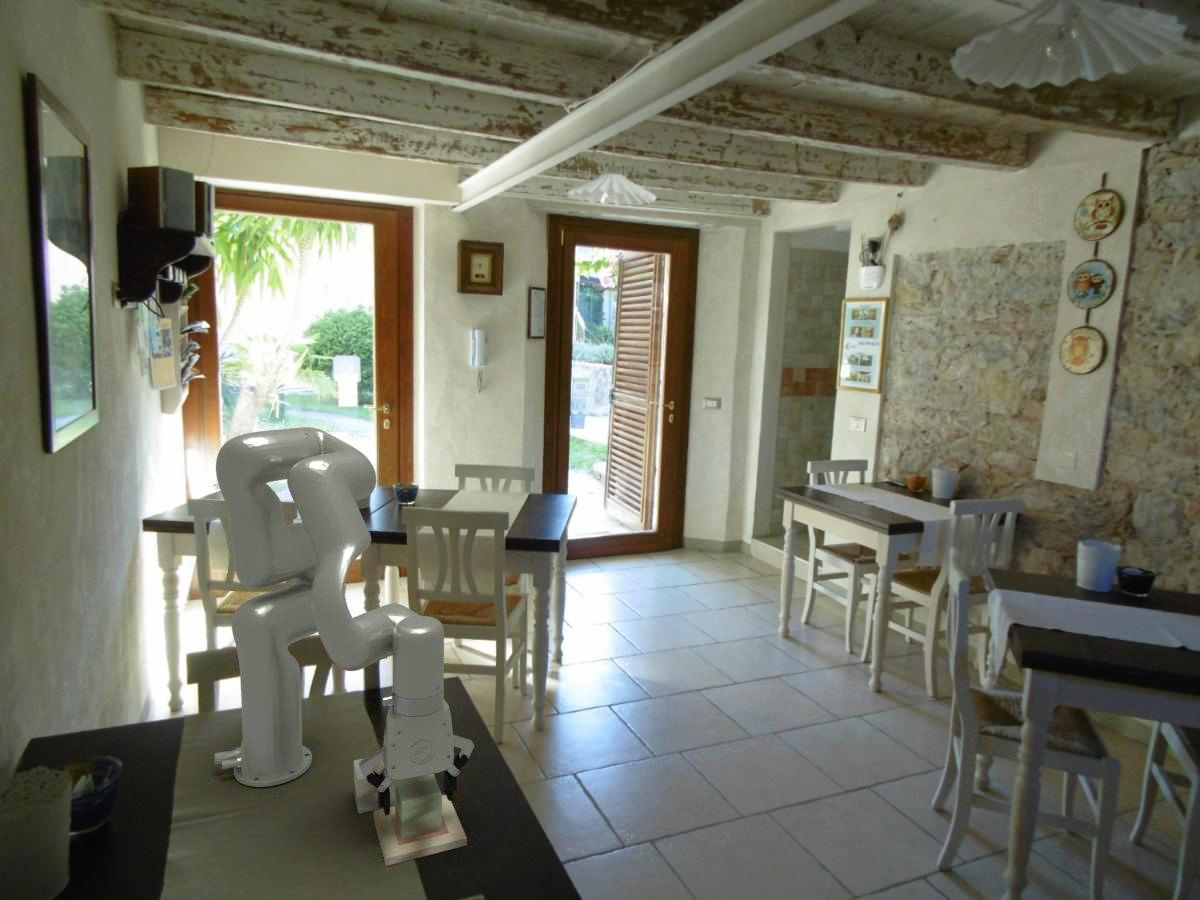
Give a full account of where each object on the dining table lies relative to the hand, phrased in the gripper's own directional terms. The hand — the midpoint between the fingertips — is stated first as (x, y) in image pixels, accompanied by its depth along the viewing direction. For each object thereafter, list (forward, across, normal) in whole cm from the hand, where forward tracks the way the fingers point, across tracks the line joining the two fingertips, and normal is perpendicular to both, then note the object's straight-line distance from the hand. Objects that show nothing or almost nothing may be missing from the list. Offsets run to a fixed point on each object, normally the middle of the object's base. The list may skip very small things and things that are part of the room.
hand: (417, 802), depth 116 cm
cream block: (+5, -5, +11) cm, 13 cm away
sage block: (+3, 0, 0) cm, 3 cm away
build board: (+5, 0, 0) cm, 5 cm away
